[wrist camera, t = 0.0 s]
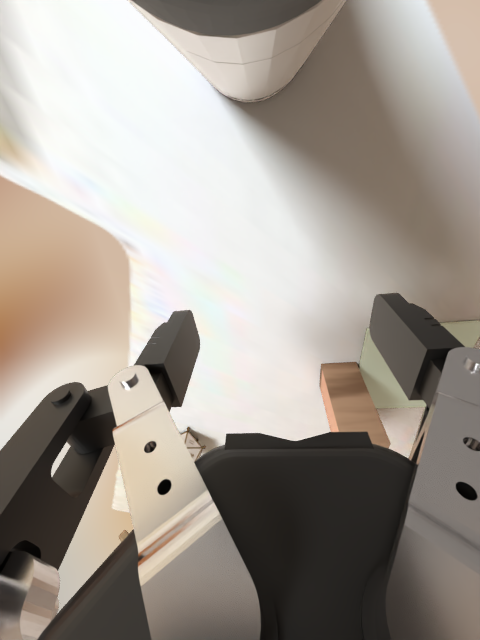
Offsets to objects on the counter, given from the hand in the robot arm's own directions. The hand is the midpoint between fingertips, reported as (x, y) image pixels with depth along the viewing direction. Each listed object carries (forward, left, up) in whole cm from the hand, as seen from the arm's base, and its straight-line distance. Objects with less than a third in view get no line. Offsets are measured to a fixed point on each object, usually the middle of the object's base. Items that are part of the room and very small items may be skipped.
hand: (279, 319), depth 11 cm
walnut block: (+25, +9, -17) cm, 31 cm away
